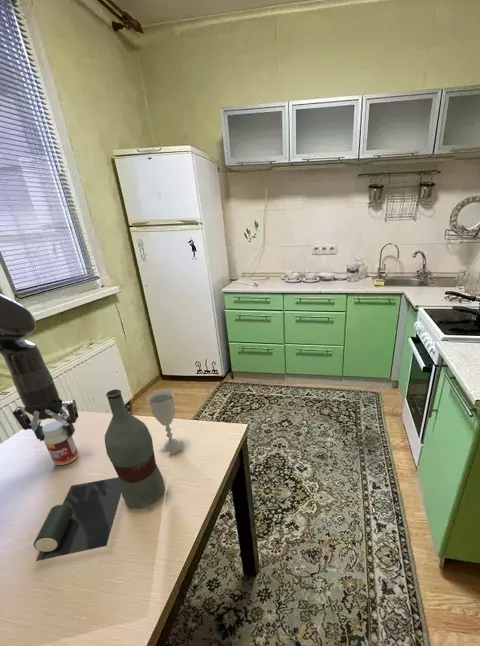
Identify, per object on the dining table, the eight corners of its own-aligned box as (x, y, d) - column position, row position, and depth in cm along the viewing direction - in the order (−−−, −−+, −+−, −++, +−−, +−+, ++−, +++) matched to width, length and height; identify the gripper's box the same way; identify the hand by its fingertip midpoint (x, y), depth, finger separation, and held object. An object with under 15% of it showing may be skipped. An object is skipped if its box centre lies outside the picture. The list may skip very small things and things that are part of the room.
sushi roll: (36, 554, 65) (29, 540, 63) (53, 519, 72) (47, 505, 70) (61, 550, 66) (55, 535, 64) (75, 516, 73) (70, 502, 71)
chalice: (154, 452, 94) (140, 399, 86) (170, 438, 99) (158, 387, 91) (175, 458, 91) (162, 404, 83) (190, 443, 97) (179, 392, 89)
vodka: (124, 518, 74) (83, 409, 60) (126, 490, 81) (90, 386, 68) (167, 505, 77) (137, 398, 63) (165, 478, 84) (138, 378, 71)
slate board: (38, 565, 65) (35, 561, 64) (73, 489, 82) (71, 485, 81) (108, 550, 67) (106, 545, 66) (127, 479, 84) (126, 475, 84)
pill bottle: (51, 468, 89) (35, 435, 84) (57, 454, 94) (43, 422, 89) (76, 462, 90) (63, 429, 85) (81, 448, 96) (68, 417, 91)
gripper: (-7, 395, 77) (21, 450, 84) (61, 387, 79) (82, 441, 87) (9, 380, 83) (34, 433, 91) (71, 373, 86) (90, 424, 93)
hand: (57, 436), depth 89 cm, fingers closed on pill bottle, 6 cm apart
